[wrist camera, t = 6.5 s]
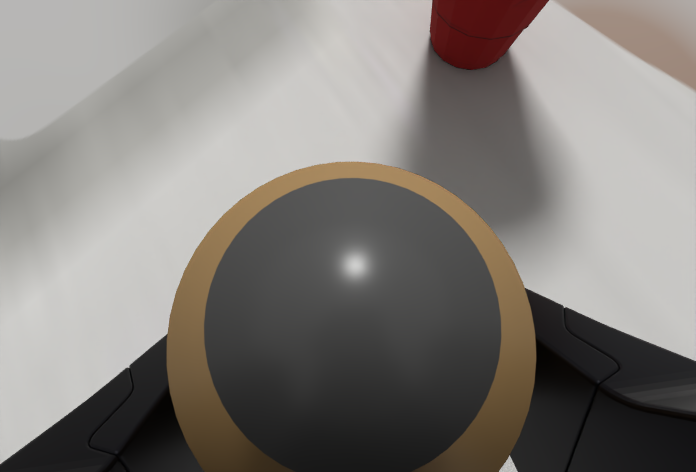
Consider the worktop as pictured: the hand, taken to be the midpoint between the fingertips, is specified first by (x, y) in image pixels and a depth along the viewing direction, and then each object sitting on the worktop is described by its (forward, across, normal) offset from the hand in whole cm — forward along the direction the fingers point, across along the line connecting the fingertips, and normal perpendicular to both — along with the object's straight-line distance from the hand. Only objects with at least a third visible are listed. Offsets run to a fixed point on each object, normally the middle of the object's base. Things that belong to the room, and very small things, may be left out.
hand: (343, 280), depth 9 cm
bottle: (+4, 0, +6) cm, 7 cm away
